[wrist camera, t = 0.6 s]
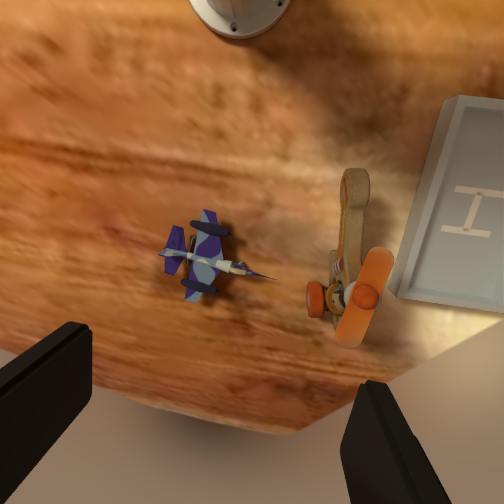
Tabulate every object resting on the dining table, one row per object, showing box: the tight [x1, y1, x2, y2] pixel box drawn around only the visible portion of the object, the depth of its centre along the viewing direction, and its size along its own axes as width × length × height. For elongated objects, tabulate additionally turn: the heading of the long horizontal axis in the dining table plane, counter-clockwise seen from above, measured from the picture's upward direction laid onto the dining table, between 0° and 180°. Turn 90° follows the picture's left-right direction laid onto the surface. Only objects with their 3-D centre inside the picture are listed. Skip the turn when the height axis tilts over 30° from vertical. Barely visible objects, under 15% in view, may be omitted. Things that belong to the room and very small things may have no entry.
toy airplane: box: [158, 209, 276, 303], centre depth 39 cm, size 13×14×4 cm
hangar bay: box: [388, 95, 504, 313], centre depth 35 cm, size 24×14×3 cm, turn 173°
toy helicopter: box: [307, 168, 394, 349], centre depth 32 cm, size 8×21×14 cm, turn 2°
